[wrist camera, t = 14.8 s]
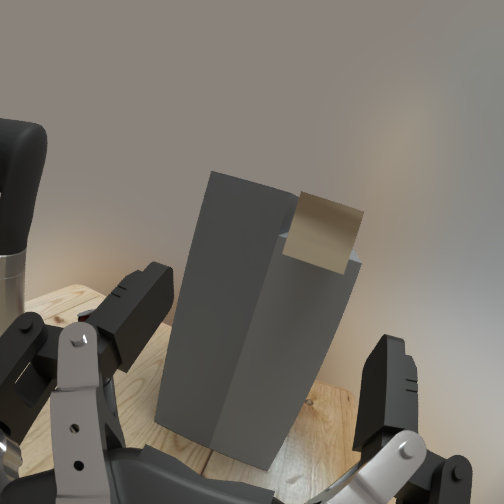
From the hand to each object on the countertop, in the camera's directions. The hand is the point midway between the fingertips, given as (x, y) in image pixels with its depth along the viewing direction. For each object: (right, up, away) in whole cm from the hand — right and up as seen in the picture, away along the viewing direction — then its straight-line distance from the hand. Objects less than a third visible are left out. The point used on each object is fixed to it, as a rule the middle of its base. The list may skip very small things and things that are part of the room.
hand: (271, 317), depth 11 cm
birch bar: (+6, +3, +19) cm, 21 cm away
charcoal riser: (-4, -22, +30) cm, 38 cm away
